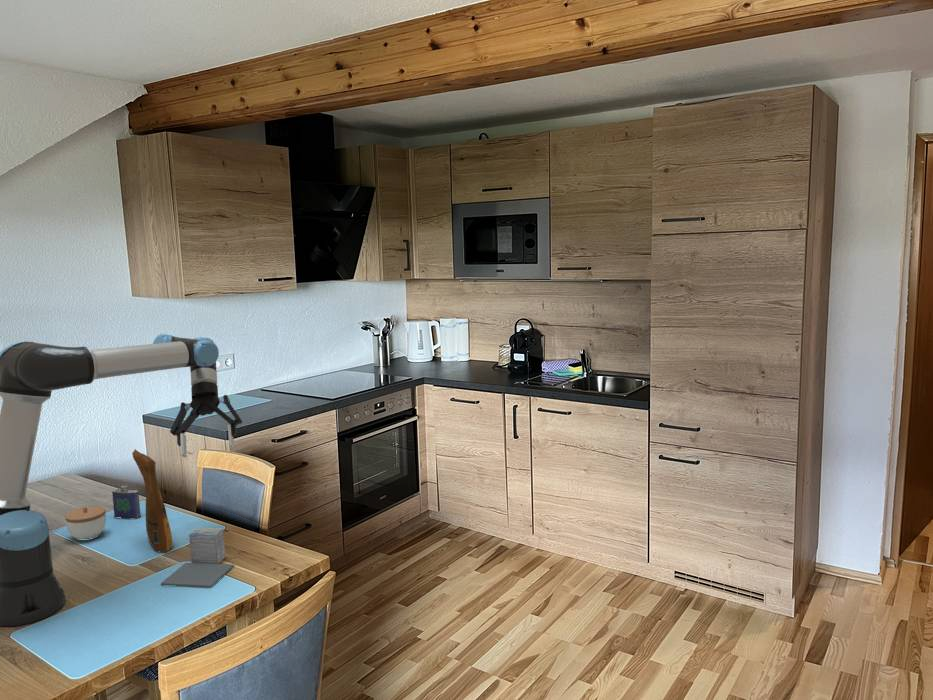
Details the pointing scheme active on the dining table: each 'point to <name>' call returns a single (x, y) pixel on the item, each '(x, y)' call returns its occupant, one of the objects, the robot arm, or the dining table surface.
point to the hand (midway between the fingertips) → (207, 451)
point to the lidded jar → (86, 522)
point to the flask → (126, 503)
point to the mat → (197, 574)
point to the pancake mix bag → (154, 505)
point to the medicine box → (207, 545)
